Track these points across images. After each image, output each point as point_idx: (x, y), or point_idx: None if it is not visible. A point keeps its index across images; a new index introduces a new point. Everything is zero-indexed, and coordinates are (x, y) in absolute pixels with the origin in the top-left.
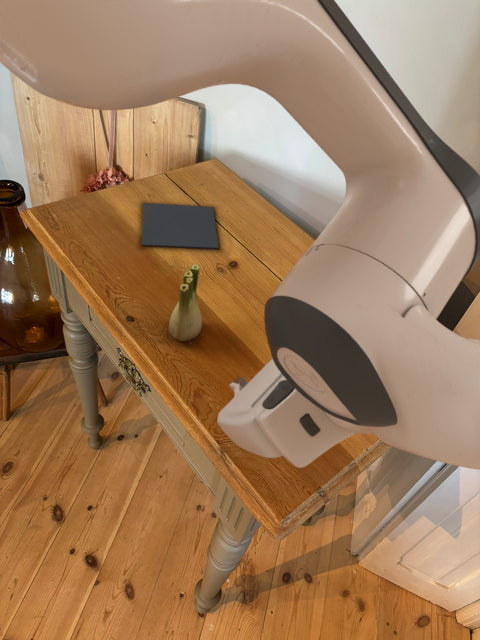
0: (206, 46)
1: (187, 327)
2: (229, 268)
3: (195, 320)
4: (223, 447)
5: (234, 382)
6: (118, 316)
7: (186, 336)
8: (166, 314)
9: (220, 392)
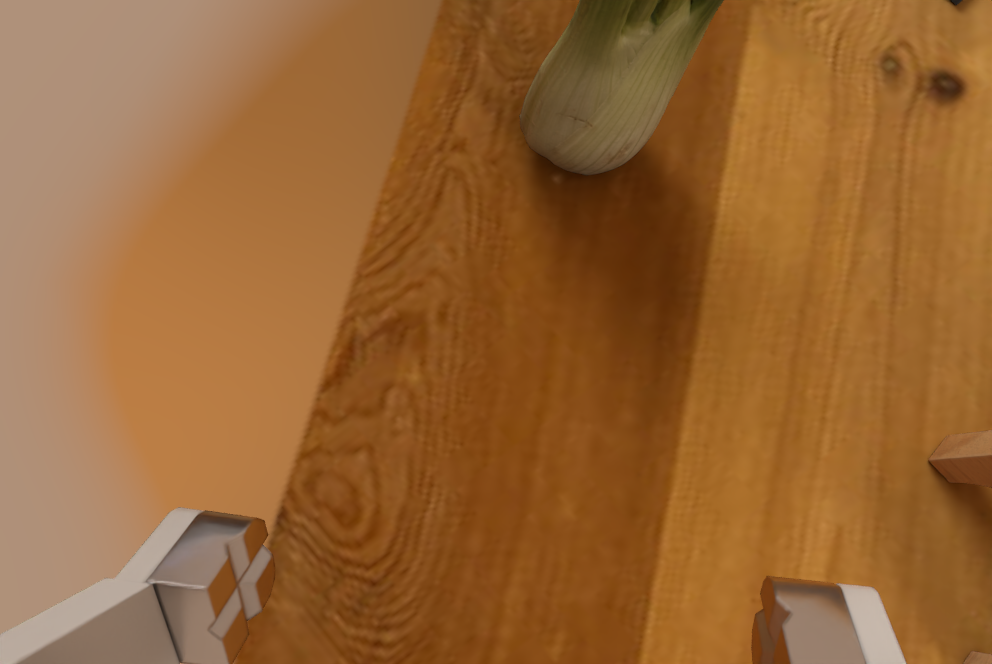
0: None
1: (564, 117)
2: (921, 85)
3: (610, 118)
4: (273, 547)
5: (181, 535)
6: None
7: (547, 144)
8: None
9: (461, 390)
